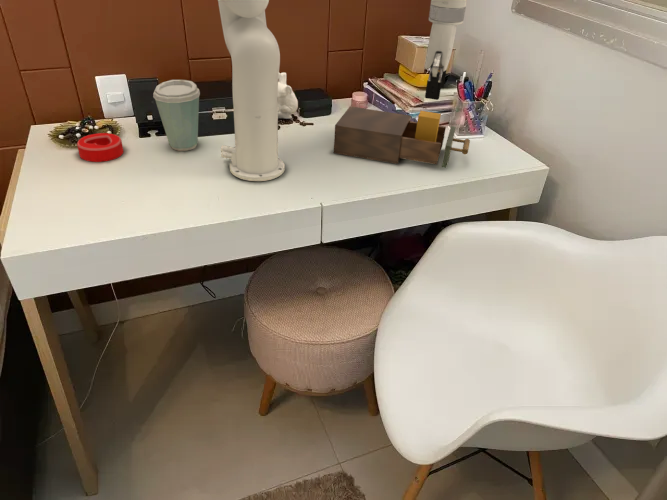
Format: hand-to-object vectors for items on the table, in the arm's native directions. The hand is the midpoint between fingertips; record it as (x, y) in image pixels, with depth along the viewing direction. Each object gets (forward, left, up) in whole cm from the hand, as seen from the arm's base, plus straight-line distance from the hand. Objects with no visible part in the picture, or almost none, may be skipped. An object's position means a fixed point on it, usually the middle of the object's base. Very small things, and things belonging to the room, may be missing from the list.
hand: (434, 92), depth 124 cm
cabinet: (-14, 0, -16) cm, 21 cm away
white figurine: (-42, +11, -17) cm, 46 cm away
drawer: (+1, 0, -16) cm, 16 cm away
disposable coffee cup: (-58, -18, -17) cm, 63 cm away
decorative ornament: (-73, -29, -17) cm, 80 cm away
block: (0, 0, -15) cm, 15 cm away
